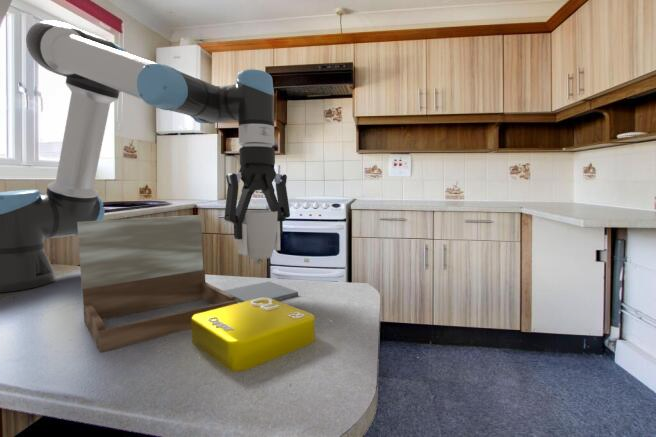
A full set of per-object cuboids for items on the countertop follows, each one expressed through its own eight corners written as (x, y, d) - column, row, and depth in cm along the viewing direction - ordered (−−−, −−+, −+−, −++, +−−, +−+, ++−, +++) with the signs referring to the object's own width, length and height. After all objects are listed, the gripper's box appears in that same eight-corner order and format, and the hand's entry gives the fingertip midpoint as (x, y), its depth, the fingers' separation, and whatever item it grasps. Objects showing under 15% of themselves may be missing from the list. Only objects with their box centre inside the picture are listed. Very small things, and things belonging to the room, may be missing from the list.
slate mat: (223, 294, 81) (223, 290, 81) (269, 284, 89) (269, 281, 89) (249, 307, 72) (249, 303, 72) (298, 295, 80) (298, 291, 80)
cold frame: (83, 320, 65) (77, 222, 64) (203, 296, 80) (200, 215, 78) (100, 352, 53) (92, 230, 51) (238, 316, 67) (235, 220, 65)
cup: (282, 253, 83) (281, 210, 82) (273, 260, 75) (272, 213, 74) (247, 253, 84) (246, 210, 83) (235, 260, 76) (234, 213, 75)
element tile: (187, 341, 57) (185, 312, 57) (266, 317, 68) (265, 292, 67) (234, 377, 46) (233, 341, 46) (320, 342, 57) (320, 312, 56)
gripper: (219, 141, 68) (223, 260, 70) (305, 148, 81) (306, 248, 83) (203, 145, 74) (207, 255, 76) (286, 151, 87) (288, 244, 89)
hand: (259, 251), depth 79 cm, fingers closed on cup, 8 cm apart
